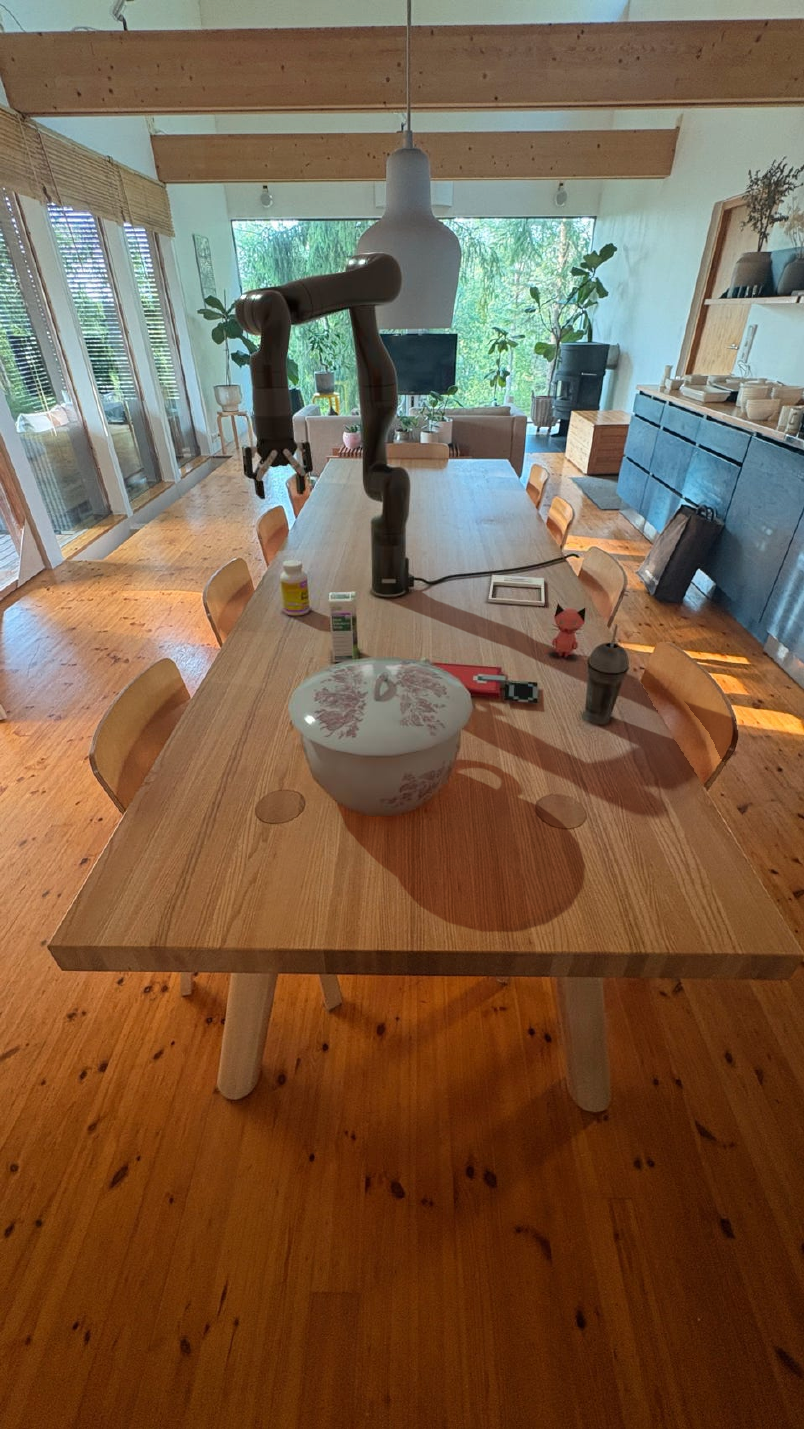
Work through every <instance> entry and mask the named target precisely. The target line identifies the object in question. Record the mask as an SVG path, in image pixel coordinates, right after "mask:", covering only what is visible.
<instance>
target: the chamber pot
mask: <svg viewBox="0 0 804 1429" xmlns="http://www.w3.org/2000/svg"><path fill="white" fill-rule="evenodd" d="M433 663H434V662H433ZM433 663H432V660H430V659H429V658H426V657H421V658H420V659H419V660H416V659H411V658H403V657H397V656H370V657H363V658H358V659H355V660H348V661H344V662H337V663H335V664H332V665H328V666H325V667H323V668H321V669H320V670H318V671H316V672H314V673H313V674H311V675H309V676H307V677H306V678H305V679H304V680H303V681H301V683H300V684H299V685H298V686H297V687H296V689H295V690H294V691H293V692H292V693H291V696H290V699H289V702H288V706H287V709H288V713H289V717H290V720H291V723H292V725H293V726H294V727H295V728H296V729H298V731H299V732H300V740H301V747H302V750H303V753H304V757H305V760H306V763H307V765H308V768H309V771H310V773H311V776H312V779H313V781H314V782H315V783H316V784H317V785H318V786H319V787H320V788H321V789H322V790H323V792H325V793H326V794H327V795H328V796H329V797H330V798H331V799H332V800H333V801H334V802H335V803H336V804H337V805H339V806H340V807H343V808H345V809H347V810H349V811H351V812H353V813H355V814H359V815H364V816H368V817H386V818H387V817H395V816H398V815H403V814H407V813H409V812H412V811H413V810H416V809H418V808H419V807H422V806H423V805H425V804H426V803H427V802H429V800H431V798H433V797H434V796H435V795H436V793H437V792H439V790H440V789H441V788H443V786H444V785H445V784H446V783H447V782H448V781H449V780H450V777H451V775H452V772H453V770H454V768H455V765H456V762H457V759H458V755H459V753H460V749H461V743H462V742H461V740H462V729H463V728H464V727H465V726H466V725H467V724H468V723H469V722H468V721H469V719H470V718H471V715H472V713H473V711H474V707H473V701H472V695H471V694H470V693H469V691H468V690H467V689H466V688H465V686H464V685H463V684H462V683H461V681H460V680H459V679H458V678H456V677H454V676H453V675H451V674H450V673H448V672H446V671H445V670H443V669H442V668H439V667H436V666H434V664H433Z"/></svg>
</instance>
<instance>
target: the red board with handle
mask: <svg viewBox="0 0 804 1429" xmlns="http://www.w3.org/2000/svg"><path fill="white" fill-rule="evenodd" d="M431 662H432V661H431ZM432 663H433V664H434V666H436V667H439V668H442V669H443V670H445V671H446V672H448V673H450V674H451V675H453V676H454V677H456V678H458V679H459V680H460V681H461V683H462V684H463V685H464V686H465V688H466V689H467V690H468V691H469V693H470V694H471V696H476V697H488V698H489V697H490V698H500V693H501V692H500V691H501V689H504V690H503V692H504V693H503V701H507V702H520V703H530V704H538V702H539V699H538V696H539V693H538V682H537V681H523V680H510V679H506V677H507V676H506V675H502V670H503V669H502V667H501V666H489V665H488V666H487V665H475V664H459V663H446V662H445V663H444V662H432Z"/></svg>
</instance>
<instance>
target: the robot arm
mask: <svg viewBox="0 0 804 1429" xmlns="http://www.w3.org/2000/svg"><path fill="white" fill-rule="evenodd" d="M402 287H403V273H402V267H401V265H400V263H399V261H398V260H397V258H395V257H394V256H393V255H391V254H390V253H388V252H387V253H386V252H381V251H379V252H364V253H357V254H356V253H355V254H353V255H352V256H351V257H349V259H348V260H347V263H346V266H345V270H344V271H340V272H332V273H324V274H317V275H312V276H307V277H303V278H299V279H295V280H291V281H289V282H287V283H284V284H281V285H275V286H269V287H261V288H255V289H251V290H247V291H245V292H243V293H242V294H241V295H240V296H239V297H238V299H237V300H236V303H235V306H234V315H235V320H236V322H237V324H238V326H239V327H240V328H241V329H242V330H243V331H244V332H245V333H246V334H249V335H251V336H257V337H258V336H259V337H260V339H259V340H260V342H259V349H258V350H256V351H254V352H252V353H251V354H250V356H249V373H250V381H251V382H250V383H251V387H252V388H251V392H252V394H251V395H252V396H251V397H252V398H251V399H252V400H251V401H252V412H253V418H254V428H255V435H256V445H254V446H248V445H246V444H244V445H242V447H241V454H242V455H241V456H242V466H243V475H244V476H245V477H246V478H248V479H250V480H253V483H254V491H255V495H256V496H257V497H258V499H260V500H265V499H266V493H265V492H266V491H265V485H264V480H263V479H264V476H265V475H266V473H267V472H268V471H269V470H270V468H278V467H288V465H289V466H290V467H291V468H292V469H293V471H294V472H295V473H296V474H295V488H296V494H298V495H304V492H306V489H307V488H306V475H307V474H308V473H312V472H313V471H314V465H313V456H312V450H311V449H312V448H311V443H310V442H309V441H307V440H304V439H302V440H300V441H297V442H296V439H295V430H294V418H293V407H292V397H291V393H290V392H291V391H290V387H289V386H290V385H289V376H288V375H289V374H288V366H287V362H288V354H289V348H290V340H291V334H292V333H291V331H292V326H301V325H305V324H309V323H311V322H314V321H317V320H320V319H323V318H326V317H328V316H332V315H334V314H337V313H340V312H343V311H346V310H348V314H349V320H350V324H351V325H350V326H351V330H352V337H353V347H354V356H355V365H356V380H357V392H358V403H359V411H360V423H361V425H360V426H361V441H362V486H363V490H364V493H365V494H366V497H367V498H369V499H371V500H372V501H376V502H379V503H382V510H381V513H380V514H378V515H375V516H373V517H371V519H370V550H371V553H370V554H371V555H370V556H371V592H372V594H373V595H374V596H375V597H379V598H386V599H391V598H398V597H399V598H400V597H402V596H404V595H405V594H406V593H409V592H410V588H414V587H415V581H417V582H423V583H424V584H427V585H435V584H438V583H441V582H444V581H445V580H448V579H453V578H462V577H471V576H483V575H495V574H501V573H509V572H510V573H511V572H516V571H523V570H527V569H533V568H538V567H541V566H546V565H549V564H552V563H555V562H559V561H563V560H566V559H568V558H571V557H575V558H576V559H580V556H579V554H577V553H569V554H567V555H564V556H560V557H557V558H553V559H550V560H547V561H543V562H539V563H535V564H529V565H525V566H520V567H511V568H504V569H495V570H486V571H477V572H467V573H466V572H465V573H457V574H449V575H446V576H443V577H441V578H437V579H436V580H431V581H430V580H427V579H425V578H422V577H415V576H414V575H413V574H411V573H410V558H409V557H408V556H407V523H408V520H409V516H410V505H411V504H410V503H411V502H410V501H411V479H410V475H409V473H408V470H407V469H406V468H404V467H403V466H399V465H394V464H390V463H388V456H387V454H388V453H387V441H388V435H389V433H390V430H391V427H392V425H393V423H394V420H395V418H396V415H397V412H398V408H399V388H398V387H399V386H398V384H399V383H398V374H397V370H396V367H395V365H394V362H393V360H392V358H391V356H390V354H389V352H388V350H387V348H386V346H385V344H384V342H383V340H382V337H381V335H380V331H379V326H378V320H377V319H378V318H377V311H376V310H377V308H376V307H383V306H387V305H390V304H392V303H393V302H395V301H396V299H397V298H398V297H399V295H400V294H401V291H402ZM297 450H298V452H299V453H301V460H302V465H301V464H300V463H299V462H298V460H297V459H296V457H295V453H297ZM256 453H257V455H258V456H259V457H260V458H259V460H258V462H257V464H256V467H255V469H254V468H253V465H254V464H253V459H254V458H255V456H256ZM563 557H564V558H563Z"/></svg>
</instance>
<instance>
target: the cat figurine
mask: <svg viewBox="0 0 804 1429" xmlns="http://www.w3.org/2000/svg"><path fill="white" fill-rule="evenodd" d="M586 608H587V607H584V608H581V609H580V610H577V609H573V608H566V609H564V608H563V607H562V606H561V605H560V604H559V603H557V605H556V609H555V613H554V617H553V620H554V622H555V624H553V623H551V625H553V626H554V627H556V629H554V628H551V630H552V631H558V630H559V632H558V633H557V635H556V637H554V638H552V642H551V645H552V646H553V647H555V650H554V651H553V652H552V653H551V656H552V657H553V658H561V657H562V656H563V655H564V658H565V659H566V660H568V661H573V660H574V659H575V656H574V655H573V651H574V650H576V649H578V648H579V643H578V642H577V640H576V634H577V635H581V632H580V633H579V632H576V631H580V630H582V627H583V625H584V624H585V621H586ZM564 653H565V654H564Z"/></svg>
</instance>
